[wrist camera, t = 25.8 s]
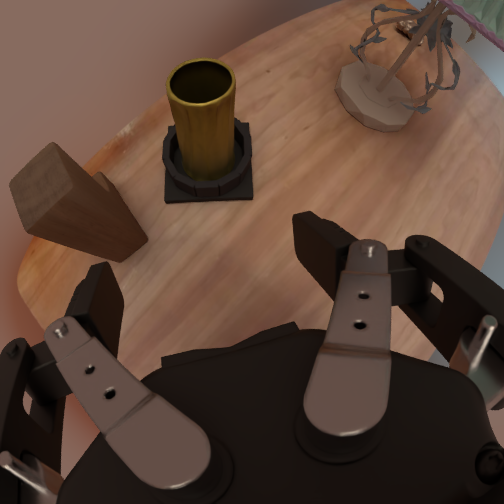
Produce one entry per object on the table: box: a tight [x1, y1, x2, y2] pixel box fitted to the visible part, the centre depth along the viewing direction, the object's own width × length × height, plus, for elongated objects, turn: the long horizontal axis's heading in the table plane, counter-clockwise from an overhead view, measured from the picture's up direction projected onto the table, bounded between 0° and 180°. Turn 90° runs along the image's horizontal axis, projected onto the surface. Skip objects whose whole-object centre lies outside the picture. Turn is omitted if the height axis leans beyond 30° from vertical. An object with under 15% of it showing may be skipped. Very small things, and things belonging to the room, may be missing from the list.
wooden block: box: [9, 142, 148, 263], centre depth 23 cm, size 9×4×18 cm, turn 38°
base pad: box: [162, 118, 253, 204], centre depth 32 cm, size 10×10×4 cm
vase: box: [166, 58, 236, 181], centre depth 25 cm, size 6×6×14 cm
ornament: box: [397, 20, 424, 45], centre depth 40 cm, size 8×7×4 cm
